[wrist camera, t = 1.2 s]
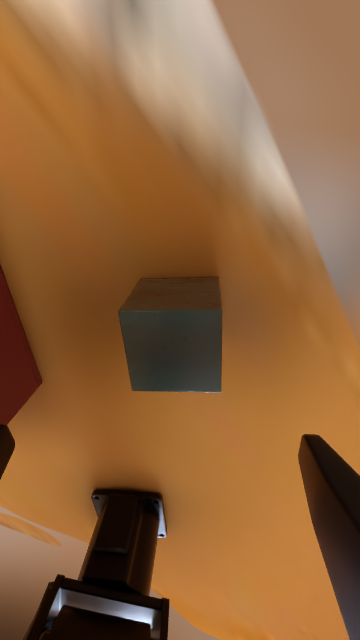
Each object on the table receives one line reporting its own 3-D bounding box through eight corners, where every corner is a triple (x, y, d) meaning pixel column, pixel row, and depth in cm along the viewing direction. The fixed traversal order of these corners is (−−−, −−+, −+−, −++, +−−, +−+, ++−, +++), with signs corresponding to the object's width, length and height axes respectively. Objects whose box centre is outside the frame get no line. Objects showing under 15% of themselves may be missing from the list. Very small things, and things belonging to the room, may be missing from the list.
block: (218, 344, 17) (221, 393, 13) (149, 344, 17) (131, 391, 13) (219, 276, 15) (222, 309, 11) (140, 278, 15) (117, 310, 11)
